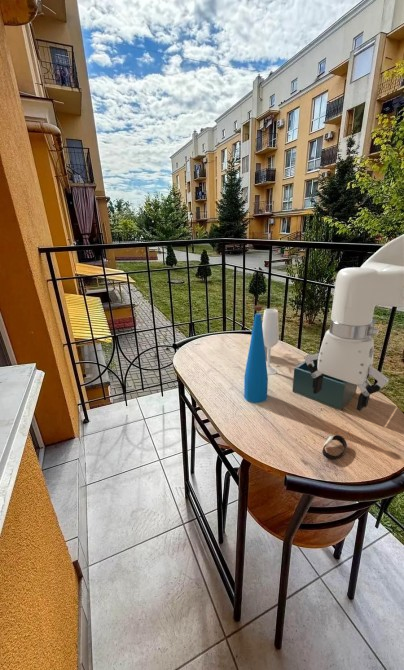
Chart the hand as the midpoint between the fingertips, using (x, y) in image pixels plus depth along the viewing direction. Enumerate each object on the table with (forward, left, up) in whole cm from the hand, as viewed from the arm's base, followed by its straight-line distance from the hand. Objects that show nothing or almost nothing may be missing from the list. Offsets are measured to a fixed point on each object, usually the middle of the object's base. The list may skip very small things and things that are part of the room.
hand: (337, 399), depth 64 cm
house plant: (+43, -35, -14) cm, 57 cm away
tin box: (+12, -23, -14) cm, 30 cm away
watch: (-1, +1, -14) cm, 14 cm away
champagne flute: (+34, -24, -14) cm, 44 cm away
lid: (+4, -23, +3) cm, 24 cm away
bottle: (+27, -6, -14) cm, 31 cm away
